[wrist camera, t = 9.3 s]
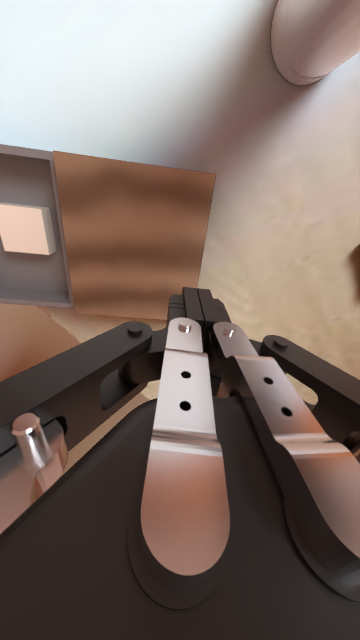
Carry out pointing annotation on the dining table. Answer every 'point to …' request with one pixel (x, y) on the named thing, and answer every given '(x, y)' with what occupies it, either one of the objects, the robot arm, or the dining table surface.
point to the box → (53, 270)
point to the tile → (26, 229)
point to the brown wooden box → (131, 233)
